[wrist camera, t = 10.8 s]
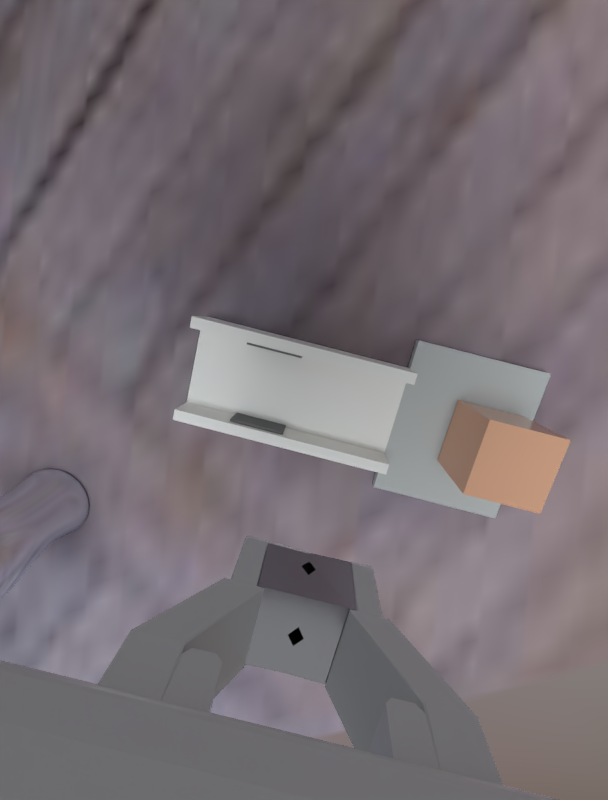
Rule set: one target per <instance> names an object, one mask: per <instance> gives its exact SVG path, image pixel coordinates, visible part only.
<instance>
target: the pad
mask: <svg viewBox="0 0 608 800" xmlns="http://www.w3.org/2000/svg"><path fill="white" fill-rule="evenodd" d="M408 368H409V369H411V370H412V371H414V372H416V373H417V374H418V375H417V378H416V381H415V384H414V385H412V384H408V383H406V385H405V388H404V392H403V395H402V398H401V401H400V404H399V408H398V411H397V414H396V417H395V421H394V424H393V427H392V430H391V434H390V437H389V440H388V443H387V446H386V450H385V456H386V458H387V460H388V463H389V467H388V470H387V473H386V475H385V474H381V473H378V472H375V476H374V479H373V482H372V483H373V487H375V488H379V489H383V490H387V491H391V492H395V493H398V494H402V495H406V496H410V497H414V498H418V499H422V500H426V501H429V502H433V503H437V504H441V505H445V506H449V507H453V508H456V509H460V510H464V511H468V512H472V513H476V514H480V515H484V516H487V517H491V518H495V517H496V515H497V512H498V510H499V507H500V505H501V504H500V503H496V502H492V501H488V500H485V499H481V498H477V497H473V496H469V495H465V494H463V493H462V492H461V491H460V489H459V488H458V487H457V485H456V484H455V483H454V481H453V480H452V479H451V478H450V476H449V475H448V474H447V472H446V471H445V470H444V468H443V467H442V466H441V465H440V463H439V462H438V461H437V460H438V457H439V454H440V452H441V449H442V446H443V443H444V440H445V437H446V434H447V431H448V428H449V425H450V422H451V419H452V416H453V413H454V410H455V408H456V405H457V402H458V400H462V401H466V402H470V403H474V404H477V405H481V406H485V407H489V408H493V409H497V410H501V411H505V412H509V413H513V414H517V415H520V416H524V417H526V418H528V419H530V420H532V421H533V419H534V417H535V414H536V412H537V409H538V407H539V404H540V401H541V399H542V396H543V394H544V391H545V389H546V386H547V383H548V381H549V378H550V376H551V374H549V373H545V372H541V371H537V370H533V369H529V368H526V367H522V366H518V365H514V364H510V363H506V362H502V361H498V360H494V359H490V358H486V357H482V356H478V355H475V354H471V353H467V352H463V351H459V350H455V349H451V348H447V347H443V346H439V345H435V344H431V343H427V342H424V341H420V340H416V342H415V346H414V349H413V352H412V355H411V359H410V362H409V365H408Z"/></svg>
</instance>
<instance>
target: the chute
mask: <svg viewBox="0 0 608 800" xmlns="http://www.w3.org/2000/svg"><path fill="white" fill-rule="evenodd" d="M190 328H193V329H197V330H200V335H199V340H198V346H197V351H196V356H195V361H194V367H193V372H192V377H191V383H190V388H189V393H188V398H187V402H186V403H185V404H183V405H181V406H179V407H178V408H176V409H175V411H174V416H173V420H176V421H180V422H184V423H188V424H192V425H195V426H199V427H203V428H207V429H211V430H215V431H219V432H223V433H226V434H230V435H234V436H238V437H242V438H246V439H250V440H254V441H257V442H261V443H265V444H269V445H273V446H277V447H281V448H285V449H288V450H292V451H296V452H300V453H304V454H308V455H312V456H316V457H319V458H323V459H327V460H331V461H335V462H339V463H343V464H347V465H350V466H354V467H358V468H362V469H366V470H370V471H374V472H378V473H381V474H385V475H386V473H387V470H388V467H389V463H388V460H387V458H386V456H385V450H386V446H387V443H388V440H389V437H390V434H391V430H392V427H393V424H394V421H395V417H396V414H397V411H398V408H399V404H400V401H401V398H402V395H403V392H404V388H405V385H406V383H408V384H412V385H414V384H415V381H416V378H417V375H418V374H417V373H416V372H414V371H412V370H411V369H409V368H407V367H403V366H399V365H395V364H392V363H388V362H384V361H380V360H376V359H372V358H368V357H364V356H360V355H356V354H352V353H349V352H345V351H341V350H337V349H333V348H329V347H325V346H321V345H317V344H313V343H309V342H305V341H302V340H298V339H294V338H290V337H286V336H282V335H278V334H274V333H270V332H266V331H262V330H259V329H255V328H251V327H247V326H243V325H239V324H235V323H231V322H227V321H223V320H219V319H216V318H212V317H208V316H192V318H191V323H190Z"/></svg>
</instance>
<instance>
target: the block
mask: <svg viewBox="0 0 608 800" xmlns="http://www.w3.org/2000/svg"><path fill="white" fill-rule="evenodd" d="M570 441H571V440H569V439H567V438H565V437H563V436H561V435H559V434H557V433H555V432H553V431H551V430H549V429H548V428H546V427H544V426H542V425H540V424H538V423H536V422H534V421H532V420H530V419H528V418H526V417H524V416H520V415H517V414H513V413H509V412H505V411H501V410H497V409H493V408H489V407H485V406H481V405H477V404H474V403H470V402H466V401H462V400H458V402H457V405H456V408H455V410H454V413H453V416H452V419H451V422H450V425H449V428H448V431H447V434H446V437H445V440H444V443H443V446H442V449H441V452H440V454H439V457H438V460H437V461H438V462H439V463H440V465H441V466H442V467H443V468H444V470H445V471H446V472H447V474H448V475H449V476H450V478H451V479H452V480H453V481H454V483H455V484H456V485H457V487H458V488H459V489H460V491H461V492H462V493H463V494H465V495H469V496H473V497H477V498H481V499H485V500H488V501H492V502H496V503H500V504H504V505H508V506H512V507H516V508H519V509H523V510H527V511H531V512H535V513H539V514H541V511H542V509H543V506H544V504H545V501H546V499H547V497H548V494H549V492H550V489H551V487H552V485H553V482H554V480H555V477H556V475H557V472H558V470H559V468H560V465H561V463H562V460H563V458H564V456H565V453H566V451H567V448H568V446H569V443H570Z"/></svg>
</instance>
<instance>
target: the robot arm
mask: <svg viewBox="0 0 608 800" xmlns="http://www.w3.org/2000/svg"><path fill="white" fill-rule="evenodd" d="M267 543H268V545H267ZM266 548H267V549H266ZM245 665H250V666H254V667H259V668H264V669H268V670H273V671H278V672H282V673H286V674H290V675H293V676H297V677H300V678H304V679H307V680H311V681H315V682H318V683H322V684H325V688H326V690H327V692H328V694H329V696H330V698H331V700H332V702H333V704H334V707H335V709H336V711H337V713H338V715H339V717H340V719H341V721H342V723H343V725H344V727H345V730H346V732H347V734H348V736H349V738H350V740H351V742H352V744H353V746H354V748H352V747H348V746H344V745H339V744H335V743H331V742H327V741H323V740H319V739H315V738H311V737H307V736H303V735H299V734H295V733H291V732H287V731H283V730H279V729H275V728H271V727H267V726H263V725H259V724H255V723H250V722H246V721H242V720H238V719H234V718H230V717H226V716H222V715H218V714H214V713H210V711H211V707H212V703H213V699H214V698H215V697H216V696H217V695H218V694H219V692H220V691H221V690H222V689H223V688H224V687H225V686H226V685H227V684H228V683H229V682H230V681H231V680H232V679H233V678H234V677H235V676H236V675H237V674H238V673H239V672H240V671H241V670H242V669H243V668H244V666H245ZM0 800H560V799H556V798H552V797H548V796H543V795H539V794H535V793H532V792H528V791H524V790H520V789H516V788H512V787H508V786H504V785H503V783H502V780H501V778H500V775H499V772H498V770H497V767H496V765H495V762H494V759H493V756H492V754H491V752H490V749H489V746H488V743H487V741H486V738H485V735H484V733H483V730H482V727H481V725H480V722H479V720H478V717H477V716H476V715H475V714H474V713H473V712H472V710H471V709H470V708H469V707H468V706H467V705H466V704H465V703H464V702H463V701H462V699H461V698H460V697H459V696H458V695H457V694H456V693H455V692H454V691H453V689H452V688H451V687H450V686H449V685H448V684H447V683H446V682H445V681H444V679H443V678H442V677H441V676H440V675H439V674H438V673H437V672H436V671H435V669H434V668H433V667H432V666H431V665H430V664H429V663H428V662H427V661H426V659H425V658H424V657H423V656H422V655H421V654H420V653H419V652H418V651H417V650H416V648H415V647H414V646H413V645H412V644H411V643H410V642H409V641H408V640H407V638H406V637H405V636H404V635H403V634H402V633H401V632H400V631H399V630H398V628H397V627H396V626H395V625H394V624H393V623H392V622H391V621H390V620H389V619H386V618H383V616H382V611H381V606H380V601H379V596H378V591H377V586H376V581H375V576H374V571H373V568H372V567H371V566H367V565H363V564H358V563H353V562H348V561H343V560H339V559H334V558H330V557H325V556H321V555H316V554H312V553H309V552H307V551H303V550H300V549H296V548H292V547H289V546H285V545H281V544H278V543H274V542H270V541H268V542H267V540H263V539H259V538H255V537H251V536H247V537H246V538H245V541H244V543H243V546H242V549H241V552H240V555H239V558H238V561H237V563H236V566H235V569H234V572H233V575H232V578H231V579H227V578H224V579H222V580H220V581H218V582H217V583H215V584H213V585H211V586H209V587H208V588H206V589H204V590H202V591H200V592H199V593H197V594H195V595H193V596H191V597H190V598H188V599H186V600H184V601H182V602H181V603H179V604H177V605H175V606H173V607H172V608H170V609H168V610H166V611H165V612H163V613H161V614H159V615H157V616H156V617H154V618H152V619H150V620H148V621H147V622H145V623H143V624H141V625H139V626H138V627H136V628H134V629H132V630H131V631H130V633H129V635H128V636H127V638H126V639H125V641H124V643H123V644H122V646H121V648H120V649H119V651H118V652H117V654H116V656H115V657H114V659H113V661H112V662H111V664H110V665H109V667H108V669H107V670H106V672H105V674H104V675H103V677H102V678H101V680H100V682H99V683H98V684H94V683H90V682H86V681H82V680H78V679H74V678H70V677H66V676H62V675H58V674H54V673H50V672H46V671H42V670H38V669H34V668H29V667H25V666H21V665H17V664H13V663H9V662H5V661H1V660H0Z"/></svg>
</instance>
